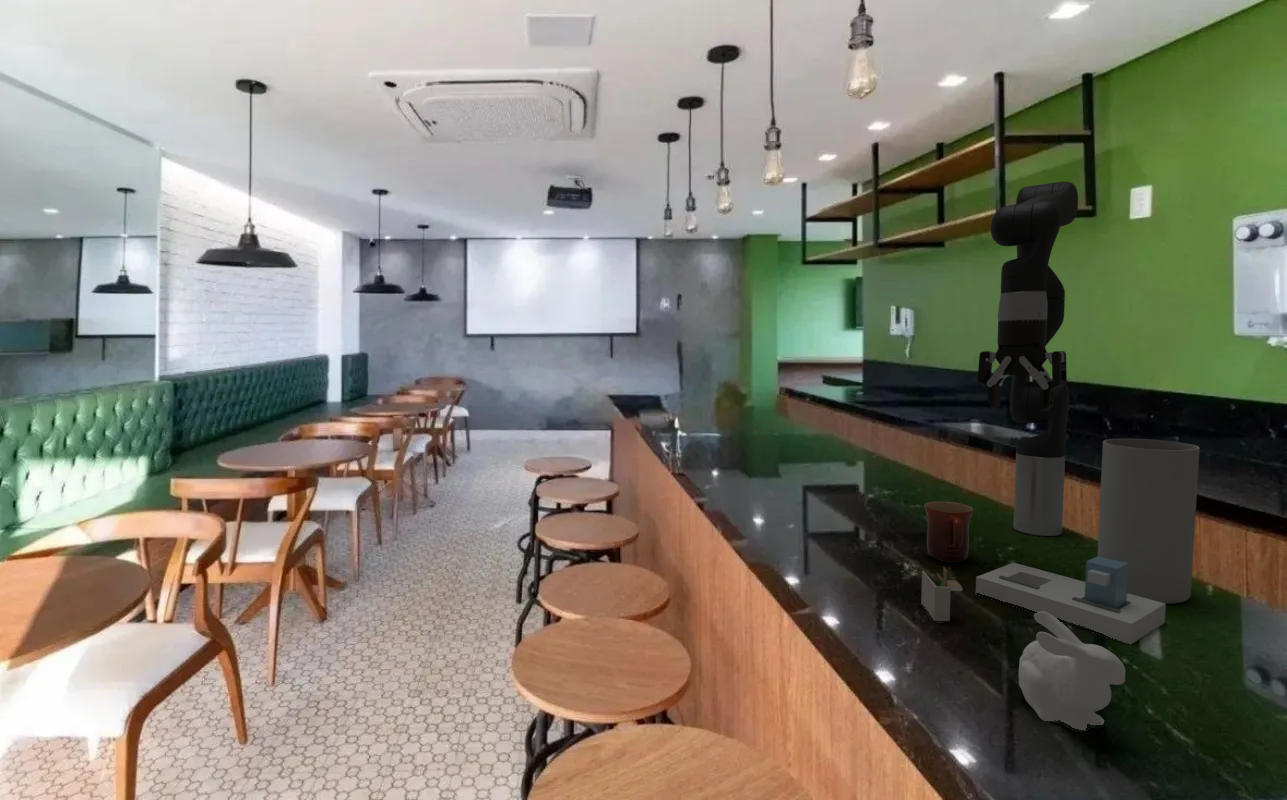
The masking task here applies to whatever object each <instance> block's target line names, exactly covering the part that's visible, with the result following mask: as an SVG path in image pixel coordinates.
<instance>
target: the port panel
mask: <svg viewBox="0 0 1287 800" xmlns="http://www.w3.org/2000/svg"><path fill="white" fill-rule="evenodd" d="M976 593H980V594H982V595H986V596H989V597H992V598H995V599H998V600H1000V601H1003V602H1008V603H1011V604H1014V605H1018V606H1021V607H1024V608H1027V609H1029V610H1032V611H1035V612H1041V611H1045V612H1048V613H1049V614H1051V615H1053V616H1054V617H1056V618H1059V619H1061V620H1064V621H1067V622H1070V623H1073V624H1076V625H1080V626H1084V627H1086V628H1089V629H1091V630H1094V631H1096V632H1099V633H1102V634H1104V635H1106V636H1108V637H1107V638H1109V637H1110V638H1109V639H1112V638H1113V640H1115V639H1116V641H1119V642H1122V643H1125V644H1128V645H1133V644H1134V643H1136V642H1137V641H1138V640H1140V639H1142V638H1143V637H1146V636H1147V635H1148V634H1150V633H1152V632H1153V631H1154V630H1156V629H1157V628H1159V627H1161V626H1163V625H1164V624H1165V621H1166V606H1167V604H1165V603H1161V602H1158V601H1154V600H1150V599H1147V598H1143V597H1139V596H1135V595H1132V594H1128V593H1127V603H1126V606H1125V607H1123V608H1121V609H1115V608H1112V607H1108V606H1105V605H1101V604H1098V603H1095V602H1091V601H1088V600H1085V581H1083V580H1080V579H1079V580H1078V579H1077V578H1076V579H1075V578H1072V577H1068V576H1065V575H1061V574H1056V573H1054V572H1050V571H1046V570H1042V569H1038V568H1035V567H1031V566H1027V565H1023V564H1019V563H1018V562H1017V563H1016V562H1012V563H1009V564H1006V565H1003V566H1002V567H999V568H996V569H993V570H991V571H988V572H986V573H983V574H981V575H977V576H976V577H975V594H976ZM1106 636H1105V637H1106Z"/></svg>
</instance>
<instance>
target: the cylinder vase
mask: <svg viewBox="0 0 1287 800" xmlns="http://www.w3.org/2000/svg"><path fill="white" fill-rule="evenodd" d="M1199 462H1200V447H1199V445H1195V444H1190V443H1186V442H1185V443H1184V442H1178V441H1170V440H1162V439H1161V440H1160V439H1148V438H1147V439H1144V438H1111V439H1110V438H1109V439H1104V440H1103V441H1102V455H1101V475H1100V477H1101V478H1100V493H1099V494H1100V497H1099V499H1100V500H1099V501H1100V502H1099V520H1098V537H1097V556H1099V557H1104V558H1108V559H1112V560H1117V561H1121V562H1125V563H1129V564H1128V584H1127V593H1128V594H1132V595H1135V596H1139V597H1143V598H1147V599H1150V600H1154V601H1158V602H1161V603H1165V604H1166V605H1168V604H1169V605H1170V604H1171V605H1172V604H1173V605H1174V604H1181V603H1184V602H1187V601H1188V600H1189V599H1190V597H1191V595H1192V576H1193V564H1194V563H1193V562H1194V559H1193V558H1194V546H1195V545H1194V544H1195V526H1196V513H1197V512H1196V511H1197V498H1198V497H1197V496H1198V479H1199V465H1200V463H1199Z"/></svg>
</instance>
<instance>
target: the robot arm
mask: <svg viewBox="0 0 1287 800" xmlns="http://www.w3.org/2000/svg"><path fill="white" fill-rule="evenodd" d="M1078 207H1079V192H1078V189H1077V187H1076V185H1075V183H1073V182H1069V181H1056V182H1050V183H1043V184H1035V185H1028V186H1024V187H1022V188H1020V190H1018V193H1017V195H1016V200H1015V204H1011V205H1006V206H1005V205H1004V206H1002V207H1001V208H999V209H998V210H997V211H996V212H995V213H994V215H993V217H992V219H991V223H990V234H991V235H990V236H991V237H992V240H993V241H994V242H995V243H996V244H997V245H999V246H1002V247H1016V258H1014V259H1010V260H1007V261H1006V262H1004V263H1003V264H1002V267H1001V272H1000V275H1001V277H1000V297H999V303H998V312H997V351H996V352H994V351H989V350H984V351H981V352H979V358H978V366H977V367H978V368H977V369H978V370H977V379H976V381H977V383H979V384H983V385H985V386H987V388H988V391H987V393H988V394H987V402H988V405H990V408H995V409H996V408H1000V407H1001V401H1002V400H1001V398H1002V396H1001V395H1002V387H1000V386H1001V384H1002V383H1003V382H1004V380H1005V379H1006V378H1008V377H1009V376H1012V377H1011V387H1010V399H1009V411H1010V416H1011V418H1012V420H1013V421H1014V422H1017V423H1021V424H1022V423H1025V424H1026V423H1027V424H1041V425H1048V428H1047V430H1045V431H1043V432H1042V433H1040V434H1037V435H1035V436H1029V437H1025V438H1021V439H1019V440H1017V443H1016V446H1015V448H1016V449H1015V471H1014V472H1015V475H1014V478H1015V479H1014V503H1013V504H1014V507H1013V508H1014V509H1013V530H1014V529H1015V530H1016V531H1018V532H1021V533H1024V534H1029V535H1033V536H1042V537H1045V536H1046V537H1055V536H1060V535H1062V534H1063V520H1064V519H1063V518H1064V516H1063V515H1064V499H1065V498H1064V494H1065V493H1064V491H1065V473H1066V472H1065V468H1066V462H1065V461H1066V443H1067V440H1066V439H1067V425H1068V417H1069V408H1070V407H1069V406H1070V392H1069V391H1070V389H1069V387H1068V386H1067V383H1068V376H1067V375H1068V373H1067V353H1066V351H1064V350H1055V351H1052V352H1048V351H1047V349H1046V348H1047V347H1046V346H1047V345H1048V344H1049V343H1050V341H1051V340H1052V339H1053V338H1054V337H1055V335H1056V334H1057V332H1058V331H1059V330H1060V328H1061V327H1062V325H1063V324H1064V323H1063V322H1064V321H1065V320H1064V319H1065V304H1066V302H1065V300H1066V298H1065V297H1066V289H1065V287H1064V285H1063V283H1062V282H1061V281H1062V280H1060V279H1059V277H1058V276H1057V274H1056V273H1055V272H1054V271H1053V269H1052V268H1051V266H1050V265H1049V263H1050V262H1049V261H1050V258H1051V254H1052V251H1053V247H1054V244H1055V242H1056V239H1057V236H1058V234H1059V231H1060V229H1061V227H1065V226H1067V225H1069V224H1071V223H1073V222H1074V220H1075V219H1076V217H1077V213H1078V209H1079V208H1078ZM1047 360H1048V362H1049V364H1050V365H1051V377H1050V374H1049V372H1048V371H1047V369H1046V368H1045V366H1044V363H1045V362H1046V361H1047ZM995 361H997V362H998V366H997V367H996V369H995V370H994V371H993V373H992V368H993V363H994V362H995ZM1030 376H1031V378H1032V379H1033V380H1035V381H1030Z"/></svg>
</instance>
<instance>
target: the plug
mask: <svg viewBox="0 0 1287 800" xmlns="http://www.w3.org/2000/svg"><path fill="white" fill-rule="evenodd" d="M1128 564H1129V563H1125V562H1121V561H1117V560H1112V559H1108V558H1104V557H1099V556H1098V555H1097V556H1095V557H1093V558H1091V559H1088V560H1086V563H1085V581H1084V582H1085V600H1088V601H1091V602H1095V603H1098V604H1101V605H1105V606H1108V607H1112V608H1115V609H1121V608H1123V607H1125V606H1126V603H1127V584H1128Z"/></svg>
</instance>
